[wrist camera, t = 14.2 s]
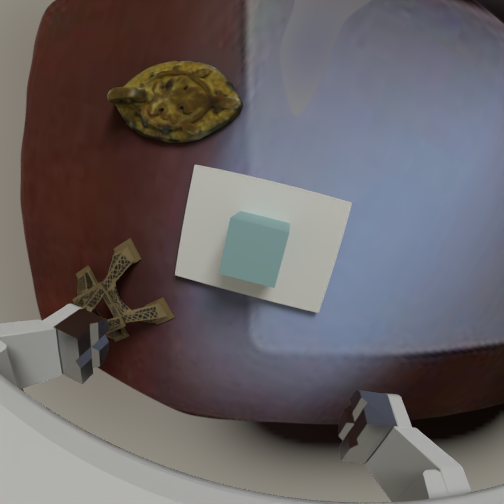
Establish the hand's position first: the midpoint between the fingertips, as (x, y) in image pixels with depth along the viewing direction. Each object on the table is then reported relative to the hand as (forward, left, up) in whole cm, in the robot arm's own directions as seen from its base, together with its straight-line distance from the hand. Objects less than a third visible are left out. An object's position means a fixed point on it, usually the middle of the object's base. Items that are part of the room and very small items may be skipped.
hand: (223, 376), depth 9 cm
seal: (+13, -11, -24) cm, 30 cm away
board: (+1, +1, -23) cm, 23 cm away
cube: (+1, +1, -23) cm, 22 cm away
